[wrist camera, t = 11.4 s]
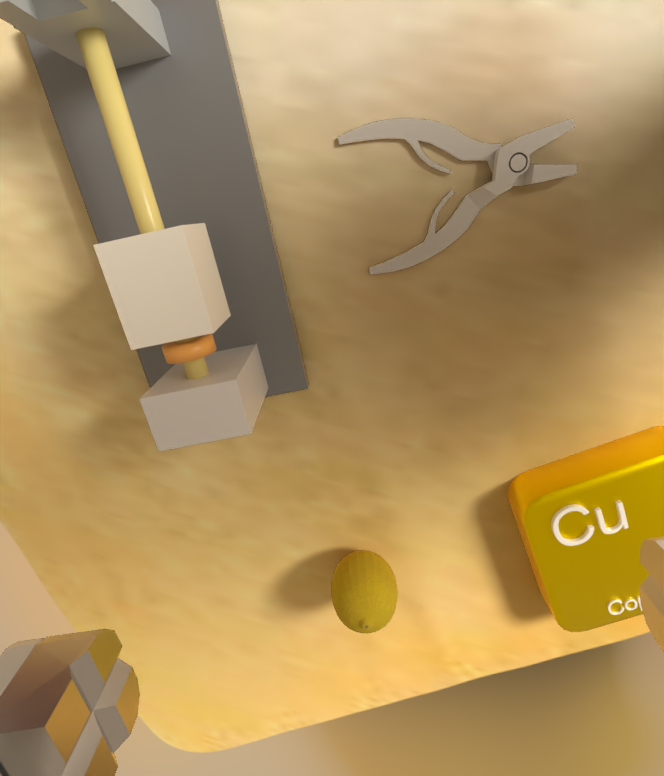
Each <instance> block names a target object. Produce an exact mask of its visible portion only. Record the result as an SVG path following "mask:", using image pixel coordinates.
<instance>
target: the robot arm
mask: <svg viewBox="0 0 664 776" xmlns="http://www.w3.org/2000/svg"><path fill="white" fill-rule="evenodd" d="M640 563H641V564H642V565H643V566H644V568H645V569H646V570H647V571H648V572H649V573H650V574H649V575H648V577H647V578H646V579H645V580H644V582H643V583H642V584H641V586H640V603H641V608H642V611H643V614H644V617H645V620H646V624H647V626H648V628H649V630H650V631H651V633H652V635H653V637H654V639H655V640H656V641H657V643H658V645H659V646H660V647H661V649H662V650H663V651H664V536H662V537H656V538H650V539H644V541H643V543H642V545H641V547H640ZM121 648H122V644H121V643H120V641H119V639H118V637H117V635H116V633H115V631H114V630H109V629H99V630H92V631H85V632H78V633H71V634H64V635H56V636H49V637H46V638H40V639H33V640H25V641H18V642H16V643H14V644H13V645H11V646H9V647H8V648H6V649H5V651H4V652H3V653H2V655H1V656H0V776H115V773H116V770H117V768H118V765H117V761H116V757H115V753H114V752H115V751H116V750H117V749H118V748H119V747H120V745H121V744H122V743H123V742H124V741H125V740H126V739H127V738H128V737H129V736H130V734H131V731H132V729H133V726H134V723H135V720H136V718H137V714H138V705H139V696H140V693H139V687H138V680H137V677H136V675H135V673H134V670H133V668H132V667H131V666H130V665H128V664H126V663H125V662H123V661H122V660H120V659H119V658H118V656H119V654H120V651H121Z"/></svg>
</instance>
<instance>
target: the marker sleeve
mask: <svg viewBox="0 0 664 776" xmlns="http://www.w3.org/2000/svg"><path fill="white" fill-rule="evenodd" d="M93 246H94V249H95V252H96V254H97V257H98V260H99V263H100V266H101V268H102V271H103V274H104V277H105V280H106V282H107V285H108V288H109V291H110V293H111V296H112V299H113V302H114V305H115V307H116V310H117V313H118V316H119V318H120V321H121V324H122V327H123V330H124V332H125V335H126V338H127V341H128V344H129V346H130V349H131V350H134V349H139V348H144V347H149V346H154V345H158V344H163V343H168V342H173V341H178V340H183V339H187V338H192V337H197V336H202V335H207V334H212V333H214V332H215V331H216V330H217V329H218V328H219V327H220V326H221V325H222V324H223V323H224V322H225V321H226V320H227V319H228V318H229V317H230V316H231V314H230V311H229V307H228V304H227V300H226V296H225V293H224V289H223V286H222V282H221V279H220V275H219V271H218V268H217V264H216V261H215V257H214V254H213V250H212V247H211V243H210V239H209V236H208V232H207V229H206V225H205V223H198V224H188V225H180V226H176V227H171V228H167V229H162V230H158V231H153V232H149V233H144V234H140V235H136V236H131V237H127V238H122V239H118V240H113V241H109V242H104V243H100V244H95V245H93Z"/></svg>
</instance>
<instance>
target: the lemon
mask: <svg viewBox="0 0 664 776" xmlns="http://www.w3.org/2000/svg"><path fill="white" fill-rule="evenodd" d="M331 594H332V602H333V605H334V608H335V610H336V613H337V615H338V617H339V619H340V620H341V621H342V622H343V624H344V625H345V626H347V627H348V628H349V629H351V630H353V631H356V632H359V633H372V632H376V631H378V630H380V629H381V628H383V627H384V626H386V624H387V623H388V622H389V621H390V620H391V618H392V616H393V614H394V611H395V608H396V602H397V584H396V579H395V576H394V573H393V571H392V569H391V567H390V566H389V564H388V563H387V562H386V561H385V560H384V559H383V558H382V557H381V556H379V555H378V554H376V553H374V552H371V551H365V550H360V551H355V552H352V553H350V554H348V555H346V556H345V557H344V558H343V559H342V560H341V561H340V562H339V563H338V565H337V567H336V569H335V571H334V574H333V578H332V582H331Z"/></svg>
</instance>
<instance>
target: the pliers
mask: <svg viewBox="0 0 664 776" xmlns="http://www.w3.org/2000/svg"><path fill="white" fill-rule="evenodd" d="M573 128H575V126H574V124H573V121H572V118H571V119H568V120H565V121H562V122H560V123H557V124H554V125H551V126H548V127H545V128H543V129H540V130H537V131H534V132H531V133H528V134H526V135H523V136H520V137H518V138H516V139H514V140H512V141H511V142H509V143H507V144H506V145H504V146H503V145H502V144H501V143H497V144H485V143H482V142H479V141H476V140H473V139H470V138H468V137H467V136H465V135H464V134H462V133H461V132H459V131H458V130H456V129H455V128H453V127H451V126H448V125H446V124H443V123H440V122H436V121H431V120H425V119H414V118H394V119H388V120H381V121H377V122H373V123H369V124H365V125H363V126H360V127H358V128H355V129H353V130H351V131H349V132H347V133H345V134H343V135H341V136H339V137H338V141H339V145H343V144H348V143H353V142H361V141H368V140H377V139H404V140H405V141H406V142H407V143H409V144H410V145H411V147H412V148H413V150H414V151H415V153H416V154H417V156H418V157H419V158H420V159H421V160H422V161H424V162H425V163H426V164H427V165H428V166H430V167H432V168H434V169H436V170H438V171H441V172H444V173H447V174H450V171H451V170H450V169H448V168H445V167H442V166H440V165H438V164H436V163H434V162H432V161H431V160H430V159H429V158H428V157H427V156H426V155H425V154H424V153H423V151H422V149H421V146H420V144H419V142H418V141H421V142H425V143H429V144H431V145H433V146H435V147H437V148H439V149H441V150H443V151H445V152H446V153H448V154H450V155H451V156H453V157H455V158H457V159H458V160H460V161H487V163H488V165H489V167H490V169H491V171H492V174H493V175H492V181H490V182H488V183H486V184H484V185H482V186H480V187H479V188H477V189H475V190H474V191H472V192H470V193H468V194H467V195H466V196H465V197H464V199H463V200H462V201H461V203H460V204H459V206H458V207H457V209H456V210H455V212H454V213H453V214H452V216H451V217H450V218H449V220H448V221H447V222H446V224H445V225H444V226H443V227H442V228H440V229H439V230H438V231H437V232H436V233H435V231H436V220H437V217H438V215H439V212H440V210H441V208H442V207H443V206H444V204H445V203H446V201H447V200H448V199H449V198H450V197H451V196H452V195H453V194H454V191H453V189H452V190H450V191H449V193H448V194H447V195H446V196H445V197H444V198H443V199H442V200H441V202H440V203H439V204H438V206H437V207H436V208H435V211H434V213H433V215H432V217H431V220H430V224H429V228H428V233H427V235H426V237H425V240H424V241H423V242H422V243H420V244H418V245H417V246H415V247H413V248H412V249H410V250H408V251H406V252H405V253H403V254H400V255H398V256H396V257H394V258H391V259H389V260H387V261H385V262H382V263H380V264H377V265H374V266H372V267H369V272H370V275H371V274H381V273H388V272H394V271H398V270H402V269H405V268H408V267H411V266H414V265H416V264H419V263H421V262H423V261H425V260H427V259H429V258H431V257H432V256H434V255H436V254H437V253H439V252H441V251H442V250H444V249H445V248H447V247H448V246H449V245H451V244H452V243H453V242H454V241H456V240H457V239H458V238H459V237H460V236H461V235H462V234H463V233H464V232H465V231H466V230H467V229H468V228H469V226H470V225H471V223H472V222H473V220H474V219H475V217H476V216H477V214H478V213H479V211H480V210H481V209H482V208H483V207H485V206H486V205H487V204H488V203H490V202H491V201H492V200H493V199H495V198H496V197H497V196H499V195H501V194H502V193H504V192H506V191H508V190H510V189H511V188H512V186H524V185H529V184H534V183H539V182H544V181H548V180H553V179H557V178H562V177H567V176H571V175H576V171H577V165H533V164H530V157H529V156H530V155H531V154H532V153H533V152H534V151H536V150H537V149H539V148H541V147H542V146H544V145H546V144H547V143H549V142H551V141H553V140H554V139H556V138H558V137H559V136H561V135H563V134H564V133H566V132H568V131H569V130H571V129H573Z"/></svg>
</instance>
